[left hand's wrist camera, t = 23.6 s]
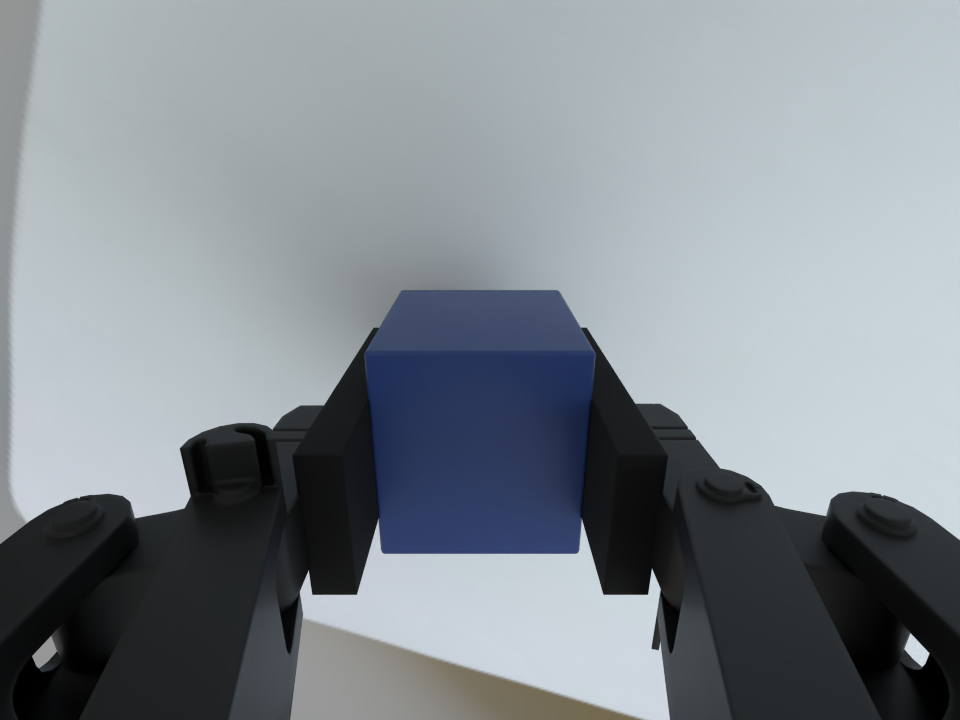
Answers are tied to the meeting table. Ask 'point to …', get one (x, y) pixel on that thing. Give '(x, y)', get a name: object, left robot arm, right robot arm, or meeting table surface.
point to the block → (480, 422)
